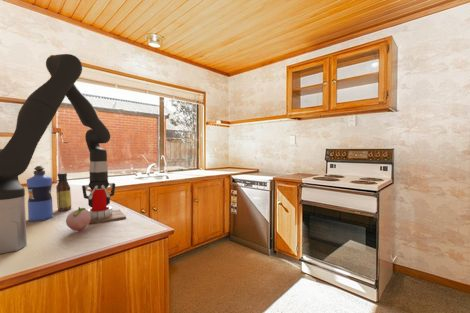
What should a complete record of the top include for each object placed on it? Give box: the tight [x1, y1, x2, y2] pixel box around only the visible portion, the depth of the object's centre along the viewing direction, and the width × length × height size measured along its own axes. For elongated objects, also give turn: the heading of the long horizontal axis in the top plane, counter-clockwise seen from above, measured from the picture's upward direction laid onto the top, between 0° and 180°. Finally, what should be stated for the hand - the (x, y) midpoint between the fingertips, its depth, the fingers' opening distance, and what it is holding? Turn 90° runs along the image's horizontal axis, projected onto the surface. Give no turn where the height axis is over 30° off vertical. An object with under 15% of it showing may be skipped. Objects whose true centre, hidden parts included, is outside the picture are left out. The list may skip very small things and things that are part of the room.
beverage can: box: [91, 189, 108, 211], centre depth 114 cm, size 6×6×12 cm
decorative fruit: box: [65, 206, 91, 232], centre depth 96 cm, size 9×8×10 cm
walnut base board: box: [88, 208, 127, 226], centre depth 114 cm, size 16×20×1 cm
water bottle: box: [26, 165, 54, 222], centre depth 113 cm, size 9×9×25 cm
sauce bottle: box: [55, 172, 72, 212], centre depth 129 cm, size 7×6×20 cm
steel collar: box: [86, 205, 113, 220], centre depth 114 cm, size 10×10×4 cm
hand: (99, 205), depth 114 cm, fingers closed on beverage can, 6 cm apart
